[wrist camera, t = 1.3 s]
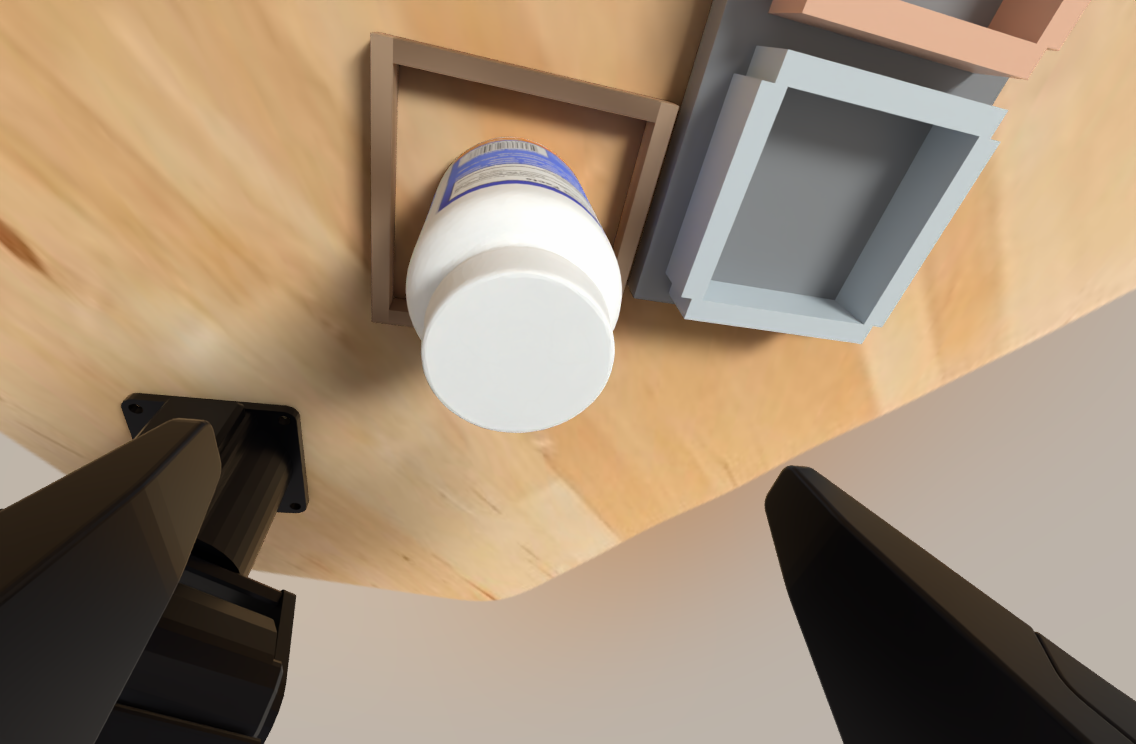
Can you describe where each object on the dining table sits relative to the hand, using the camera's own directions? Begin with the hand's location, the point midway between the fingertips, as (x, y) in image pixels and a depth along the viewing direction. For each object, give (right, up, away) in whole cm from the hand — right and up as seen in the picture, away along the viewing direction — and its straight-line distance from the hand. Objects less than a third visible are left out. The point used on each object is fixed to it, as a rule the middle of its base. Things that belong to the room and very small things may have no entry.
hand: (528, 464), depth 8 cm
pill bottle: (-1, +7, +10) cm, 13 cm away
